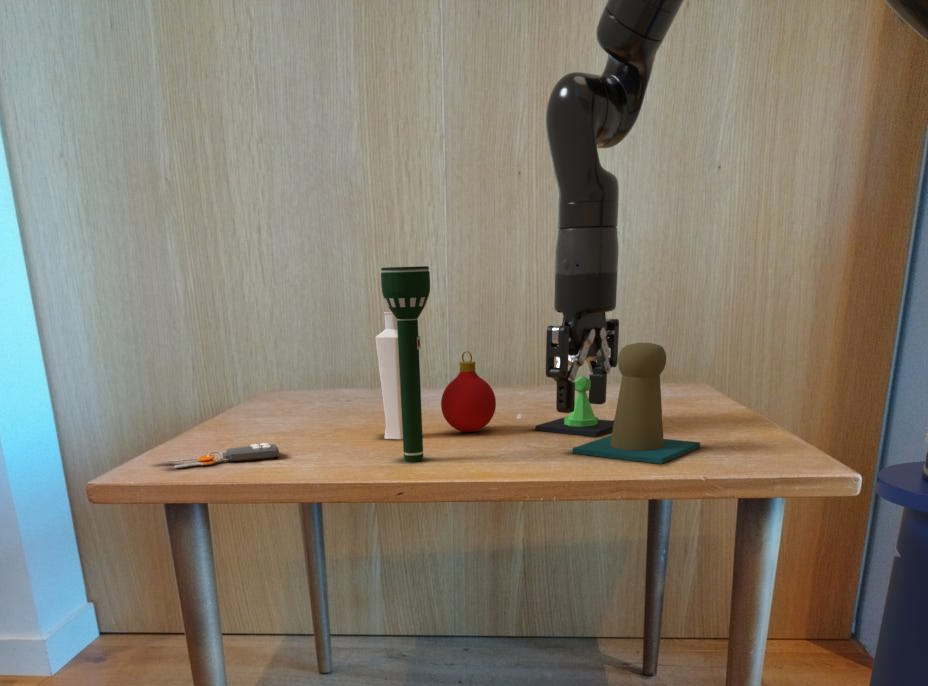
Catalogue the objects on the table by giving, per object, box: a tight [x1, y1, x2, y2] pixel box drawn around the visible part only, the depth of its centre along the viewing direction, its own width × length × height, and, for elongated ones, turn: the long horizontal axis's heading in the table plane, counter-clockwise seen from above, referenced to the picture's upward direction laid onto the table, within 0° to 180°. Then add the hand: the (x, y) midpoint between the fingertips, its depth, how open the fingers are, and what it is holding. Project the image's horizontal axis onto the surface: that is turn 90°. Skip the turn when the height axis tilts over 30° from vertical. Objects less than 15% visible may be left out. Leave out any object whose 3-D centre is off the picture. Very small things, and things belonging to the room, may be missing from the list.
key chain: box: [162, 442, 280, 469], centre depth 98 cm, size 13×4×2 cm, turn 111°
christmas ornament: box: [440, 350, 497, 433], centre depth 109 cm, size 7×7×10 cm
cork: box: [610, 342, 667, 450], centre depth 94 cm, size 6×6×11 cm
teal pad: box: [571, 434, 701, 465], centre depth 97 cm, size 11×10×1 cm
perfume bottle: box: [374, 311, 403, 440], centre depth 106 cm, size 5×4×15 cm
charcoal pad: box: [534, 416, 614, 437], centre depth 110 cm, size 9×8×1 cm
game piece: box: [563, 375, 599, 427], centre depth 109 cm, size 4×4×6 cm
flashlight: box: [380, 265, 431, 463], centre depth 92 cm, size 5×5×20 cm
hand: (581, 407), depth 109 cm, fingers open, 7 cm apart
